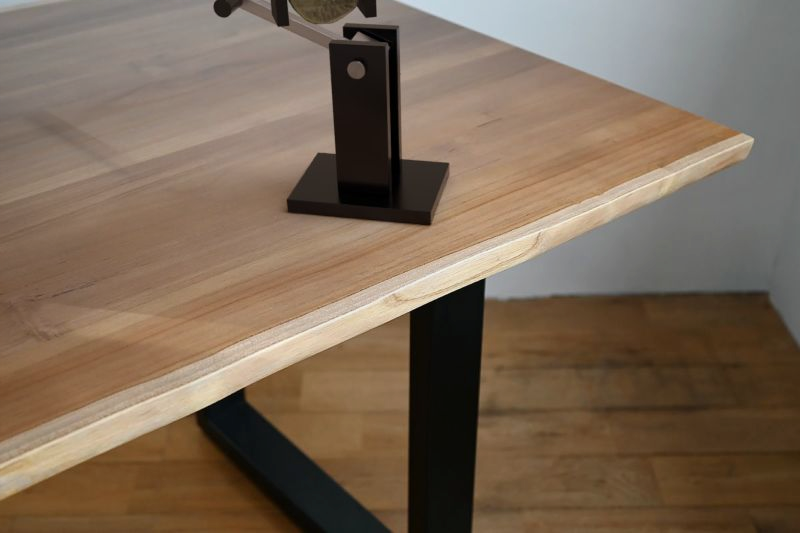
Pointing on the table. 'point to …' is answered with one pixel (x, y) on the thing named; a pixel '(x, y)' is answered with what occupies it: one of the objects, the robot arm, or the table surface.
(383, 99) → the bracket
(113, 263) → the table surface
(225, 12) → the lever
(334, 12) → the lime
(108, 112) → the table surface
